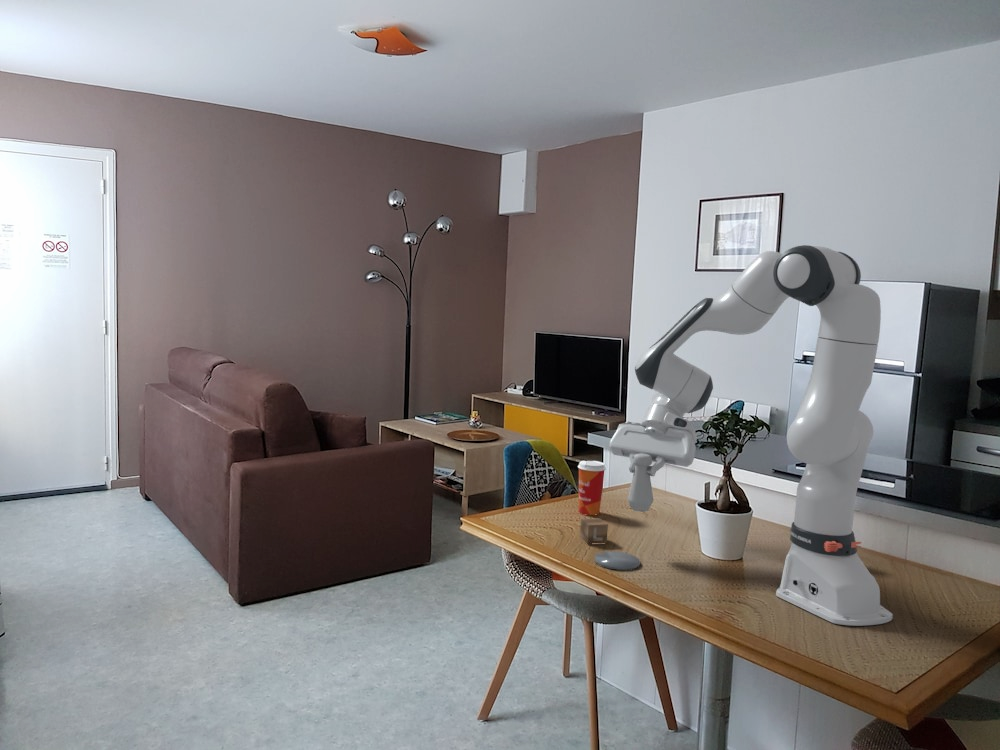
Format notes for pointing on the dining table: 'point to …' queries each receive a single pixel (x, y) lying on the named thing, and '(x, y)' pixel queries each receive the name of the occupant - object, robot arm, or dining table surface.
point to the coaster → (617, 560)
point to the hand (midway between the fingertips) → (641, 473)
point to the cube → (593, 530)
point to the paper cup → (590, 486)
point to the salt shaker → (641, 484)
